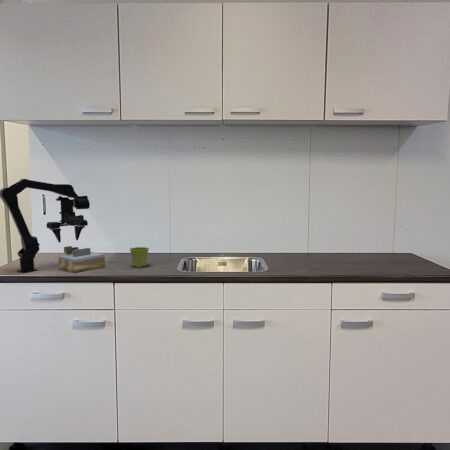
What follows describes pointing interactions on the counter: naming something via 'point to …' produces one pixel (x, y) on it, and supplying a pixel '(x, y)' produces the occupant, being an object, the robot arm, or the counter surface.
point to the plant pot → (139, 256)
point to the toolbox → (80, 263)
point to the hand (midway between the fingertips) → (68, 241)
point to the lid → (81, 255)
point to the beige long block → (66, 249)
